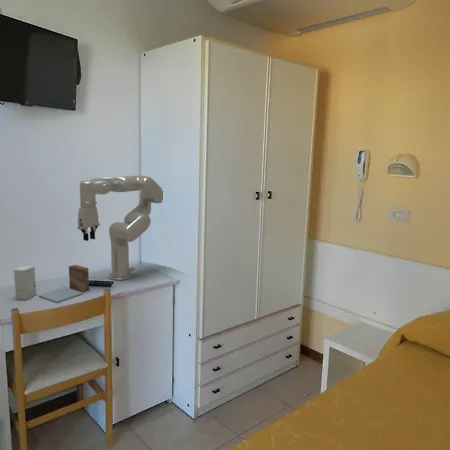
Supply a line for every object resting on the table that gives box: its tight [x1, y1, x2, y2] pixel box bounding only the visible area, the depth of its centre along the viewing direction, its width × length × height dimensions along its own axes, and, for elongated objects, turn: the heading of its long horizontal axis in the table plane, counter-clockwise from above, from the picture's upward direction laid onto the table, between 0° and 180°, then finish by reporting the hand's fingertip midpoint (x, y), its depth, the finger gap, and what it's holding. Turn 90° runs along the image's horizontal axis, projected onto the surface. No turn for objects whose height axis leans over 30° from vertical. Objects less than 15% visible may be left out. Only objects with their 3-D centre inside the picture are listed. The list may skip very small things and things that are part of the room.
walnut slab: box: [68, 264, 90, 294], centre depth 218 cm, size 4×10×12 cm, turn 58°
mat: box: [38, 286, 84, 304], centre depth 210 cm, size 15×14×1 cm
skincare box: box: [13, 265, 37, 301], centre depth 206 cm, size 8×6×15 cm
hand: (89, 239), depth 221 cm, fingers open, 3 cm apart
